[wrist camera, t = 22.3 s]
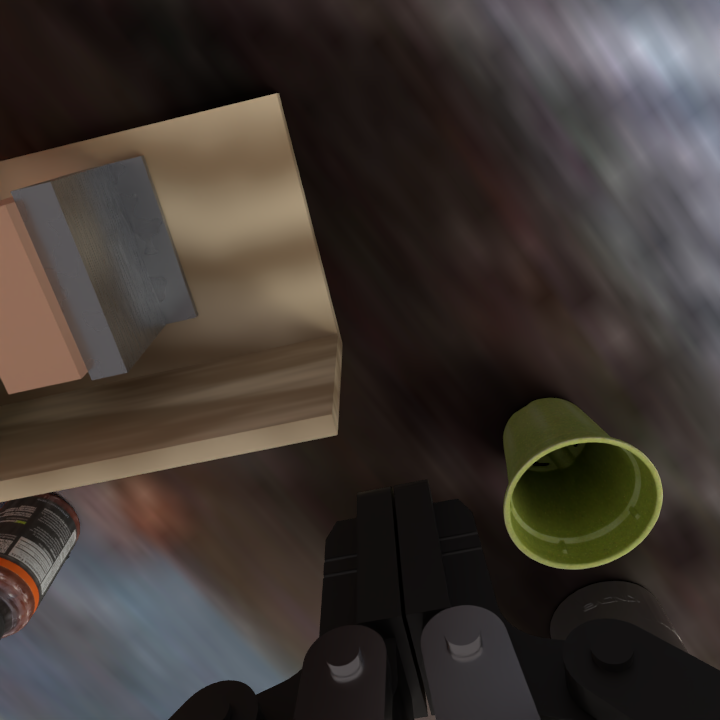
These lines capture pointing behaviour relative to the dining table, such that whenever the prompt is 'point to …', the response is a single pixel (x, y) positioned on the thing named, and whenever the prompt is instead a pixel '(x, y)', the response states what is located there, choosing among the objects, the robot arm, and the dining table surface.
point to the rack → (212, 325)
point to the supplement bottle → (32, 554)
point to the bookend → (108, 260)
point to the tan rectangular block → (30, 315)
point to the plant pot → (575, 488)
